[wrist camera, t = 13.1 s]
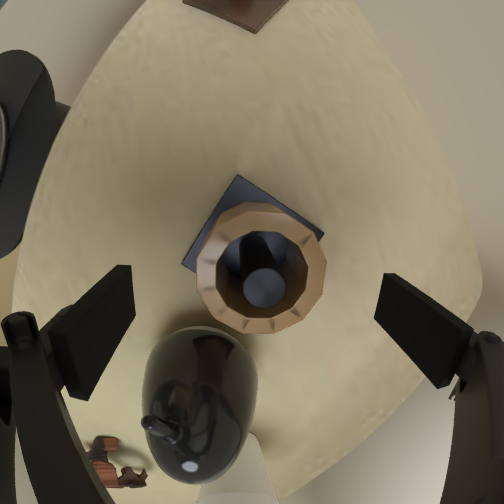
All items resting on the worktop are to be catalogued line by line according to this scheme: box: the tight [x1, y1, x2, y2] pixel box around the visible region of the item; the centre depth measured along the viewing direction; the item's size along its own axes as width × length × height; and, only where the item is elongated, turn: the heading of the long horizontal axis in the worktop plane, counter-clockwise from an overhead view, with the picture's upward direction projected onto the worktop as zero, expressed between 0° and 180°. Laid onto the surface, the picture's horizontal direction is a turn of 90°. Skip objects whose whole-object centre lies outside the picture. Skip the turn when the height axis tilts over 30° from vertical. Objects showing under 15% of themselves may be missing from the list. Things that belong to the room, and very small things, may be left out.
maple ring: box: [197, 201, 327, 334], centre depth 21 cm, size 8×8×7 cm
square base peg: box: [181, 174, 324, 308], centre depth 20 cm, size 9×9×10 cm
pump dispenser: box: [141, 326, 258, 485], centre depth 20 cm, size 10×10×15 cm
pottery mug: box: [86, 438, 148, 488], centre depth 30 cm, size 12×10×8 cm
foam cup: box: [196, 433, 280, 504], centre depth 25 cm, size 10×9×13 cm
